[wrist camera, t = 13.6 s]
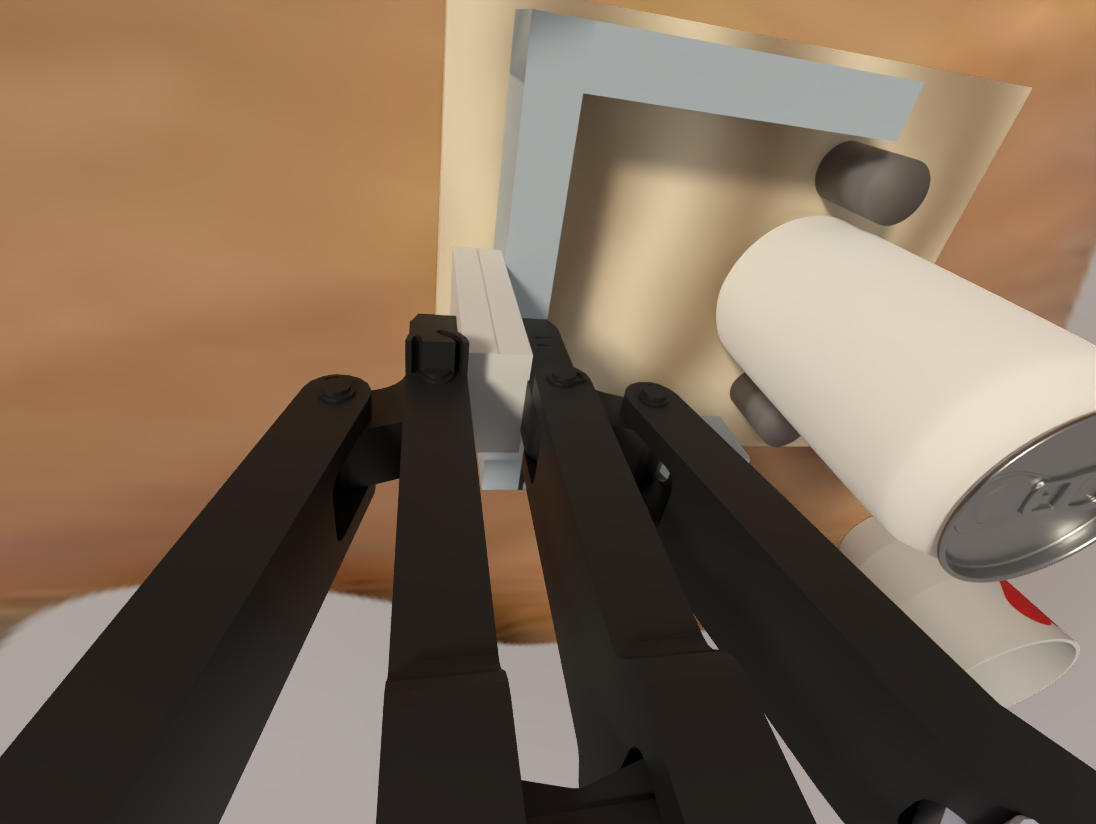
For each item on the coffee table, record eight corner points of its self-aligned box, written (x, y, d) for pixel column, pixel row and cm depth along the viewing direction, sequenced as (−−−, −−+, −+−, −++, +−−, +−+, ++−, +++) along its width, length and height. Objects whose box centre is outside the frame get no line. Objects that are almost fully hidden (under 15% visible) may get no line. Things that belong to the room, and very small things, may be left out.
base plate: (431, 424, 25) (432, 494, 21) (446, -24, 16) (452, -34, 12) (815, 428, 29) (869, 486, 26) (996, 83, 20) (1119, 98, 17)
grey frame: (475, 441, 23) (481, 490, 21) (514, 9, 15) (532, 9, 13) (709, 442, 26) (738, 485, 23) (856, 72, 17) (924, 82, 15)
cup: (939, 541, 38) (1074, 681, 30) (829, 592, 39) (930, 738, 31) (928, 473, 33) (1086, 617, 25) (804, 533, 35) (916, 689, 27)
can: (723, 219, 20) (998, 412, 10) (886, 203, 21) (1282, 368, 11) (700, 371, 24) (885, 613, 14) (838, 352, 24) (1101, 570, 15)
